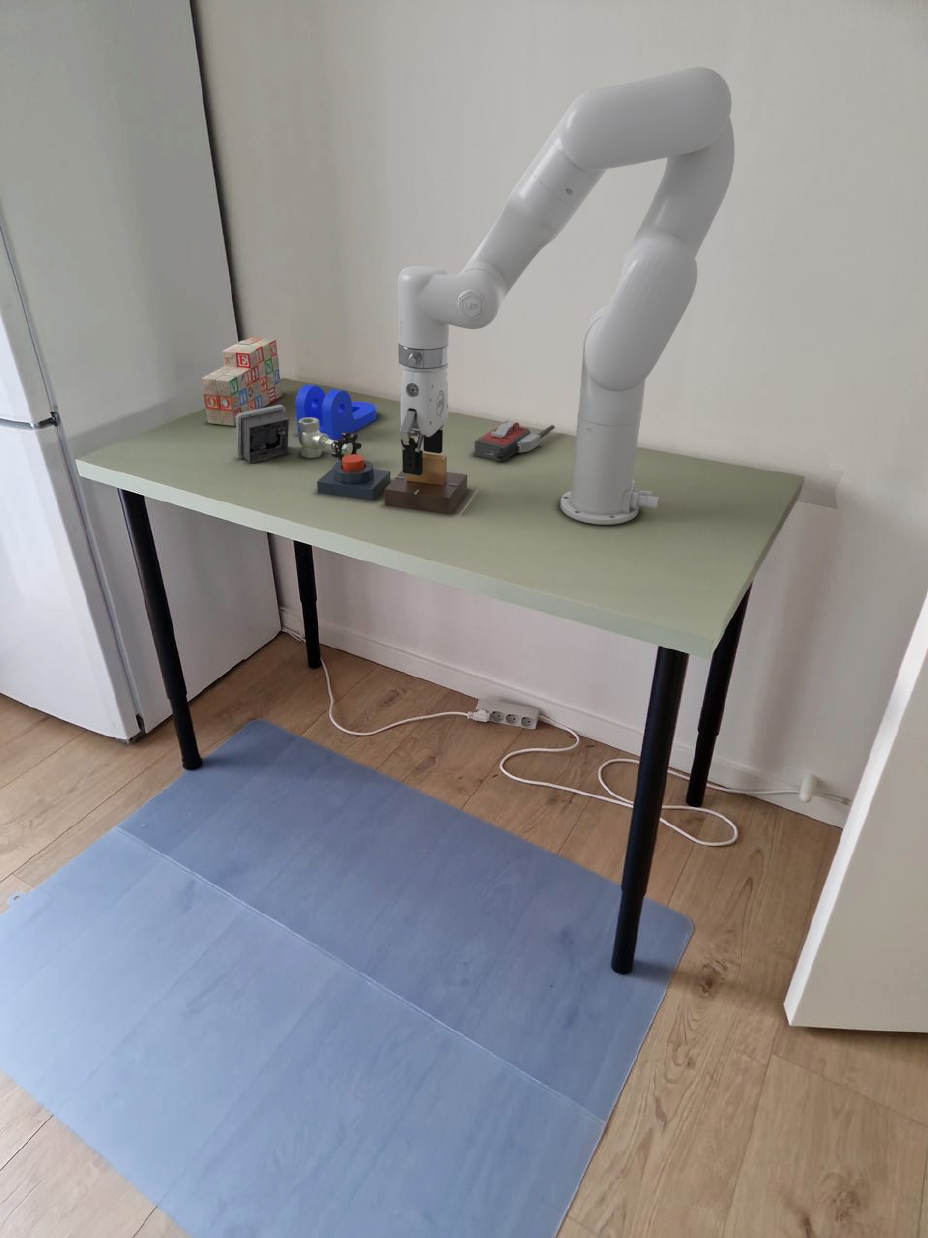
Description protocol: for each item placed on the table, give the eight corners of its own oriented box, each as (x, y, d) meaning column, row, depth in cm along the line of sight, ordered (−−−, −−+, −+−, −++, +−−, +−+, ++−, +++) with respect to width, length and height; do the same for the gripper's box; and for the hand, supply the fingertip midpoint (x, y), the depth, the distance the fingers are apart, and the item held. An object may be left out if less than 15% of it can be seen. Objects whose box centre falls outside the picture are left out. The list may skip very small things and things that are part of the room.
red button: (367, 465, 137) (367, 455, 136) (359, 473, 134) (358, 463, 133) (348, 462, 138) (347, 453, 137) (339, 470, 135) (338, 460, 134)
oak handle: (446, 481, 133) (446, 454, 131) (443, 485, 132) (443, 458, 129) (409, 476, 135) (409, 449, 132) (406, 480, 134) (405, 453, 131)
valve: (290, 457, 150) (336, 473, 143) (286, 422, 146) (334, 437, 140) (317, 447, 154) (362, 462, 148) (313, 413, 150) (360, 427, 144)
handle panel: (467, 490, 138) (467, 472, 136) (448, 516, 130) (448, 498, 128) (407, 481, 141) (406, 464, 139) (384, 506, 132) (383, 488, 130)
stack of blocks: (235, 427, 163) (226, 365, 156) (207, 424, 164) (197, 362, 157) (282, 395, 180) (276, 338, 173) (257, 392, 181) (249, 335, 175)
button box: (390, 482, 140) (389, 461, 138) (373, 501, 134) (371, 478, 132) (337, 475, 143) (336, 454, 141) (317, 493, 136) (315, 471, 134)
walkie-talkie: (510, 467, 147) (557, 434, 161) (511, 444, 144) (559, 412, 159) (468, 457, 150) (518, 426, 165) (468, 434, 148) (519, 404, 162)
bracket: (333, 442, 156) (329, 396, 151) (298, 435, 159) (293, 389, 154) (383, 415, 169) (381, 372, 165) (350, 408, 173) (347, 366, 168)
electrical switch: (282, 447, 154) (279, 400, 148) (295, 457, 151) (292, 410, 145) (236, 458, 149) (230, 410, 143) (248, 469, 146) (243, 421, 140)
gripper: (427, 374, 115) (427, 486, 124) (464, 344, 128) (460, 447, 138) (378, 367, 116) (381, 479, 126) (419, 339, 130) (419, 441, 140)
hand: (423, 462), depth 132 cm, fingers open, 9 cm apart
